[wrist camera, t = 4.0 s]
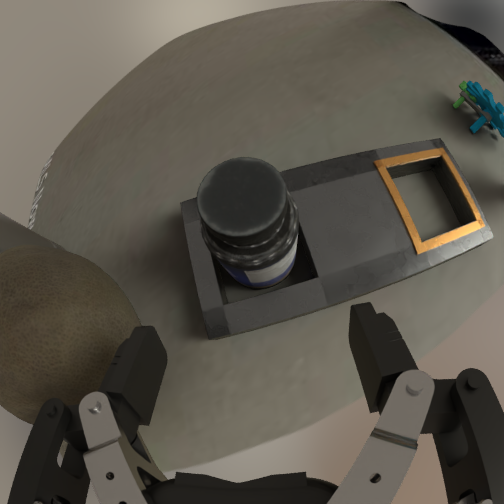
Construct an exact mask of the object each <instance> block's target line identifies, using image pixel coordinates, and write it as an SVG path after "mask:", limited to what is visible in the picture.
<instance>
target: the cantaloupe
mask: <svg viewBox="0 0 504 504" xmlns="http://www.w3.org/2000/svg"><path fill="white" fill-rule="evenodd" d="M137 326H141V323H140V321H139V318H138V316H137V314H136V312H135V310H134V308H133V306H132V305H131V303H130V301H129V300H128V298H127V297H126V295H125V294H124V292H123V291H122V290H121V288H120V287H119V286H118V285H117V284H116V282H115V281H114V280H113V279H112V278H111V277H110V276H109V275H108V274H107V273H105V272H104V271H103V270H102V269H101V268H99V267H98V266H97V265H95V264H94V263H92V262H91V261H89V260H87V259H85V258H83V257H81V256H79V255H76V254H73V253H70V252H67V251H64V250H61V249H56V248H51V247H45V246H39V245H20V246H15V247H12V248H10V249H7V250H5V251H3V252H2V253H0V405H1V406H2V407H3V408H5V409H6V410H7V411H9V412H10V413H12V414H13V415H15V416H16V417H18V418H19V419H21V420H23V421H25V422H27V423H30V424H33V425H34V423H35V420H36V418H37V416H38V413H39V411H40V409H41V407H42V405H43V404H44V403H45V402H46V401H47V400H49V399H51V398H59V399H60V400H61V401H62V402H63V403H64V404H65V405H66V406H67V405H75V404H80V402H81V401H82V399H83V398H84V397H85V396H86V395H88V394H90V393H92V392H97V391H98V390H99V387H100V385H101V383H102V381H103V378H104V376H105V374H106V372H107V370H108V368H109V365H111V361H112V359H113V357H114V355H115V353H116V351H117V349H118V347H119V346H120V345H121V344H122V342H123V341H124V340H125V339H126V338H130V336H131V333H132V331H133V329H134V328H135V327H137Z"/></svg>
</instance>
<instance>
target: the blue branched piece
mask: <svg viewBox="0 0 504 504" xmlns="http://www.w3.org/2000/svg"><path fill="white" fill-rule="evenodd" d="M459 87H460V89H461V90H462V92H461V93H460V96H461V97H460V98H459V99H458V100H457V101H456V102H455V103H454V104H453V107H454V108H455V109H457V108H458V107H459V106H460V105H461V104H462V103H463V102H464V101H466V102H467V103H468V104H469V105H470V106H471V107H472V108H473V109H474V110H475V111H476V112H477V113H478V114H479V115H480V116H481V117H480V118H479V119H478V120H477V121H476V122H475V123H474V124H473V125H472V126H471V127H470V130H471V131H472V132H473V133H475V132H476V131H477V130H478V129H479V128H480V127H481V126H482V125H483V124H484V123H485V122H489V121H490V125H491V126H492V127H493V128H494V129H495V130H496V129H498V130H499V133H500V135H501V136H502V137H504V115H503V113H504V107H503V106H502V104H501V103H500V102H498V103H497V104H496V103H495V102H494V99H493V95H492V93H491V92H490V91H489V90H487V89H485V90H484V91H483V89H482V87H481V86H480V84H479V83H478V82H475V83H474V84H473V83H472V82H471V81H469V82H468V83H466V82H465V81H463V82H462V83H461V84H460V85H459ZM477 105H479V106H480V107H481V109H480V108H479V107H478V106H477Z"/></svg>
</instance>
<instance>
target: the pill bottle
mask: <svg viewBox="0 0 504 504" xmlns="http://www.w3.org/2000/svg"><path fill="white" fill-rule="evenodd" d="M197 208H198V212H199V215H200V217H201V219H200V225H201V233H202V237H203V239H204V242H205V244H206V246H207V248H208V249H209V251H210V252H211V253H212V254H213V255H214V256H215V257H216V259H217V260H218V261H219V262H220V263H221V265H222V266H223V267H224V268H225V269H226V270H227V271H228V273H229V274H230V275H231V276H232V277H233V278H234V279H235V280H236V281H238V282H239V283H241V284H243V285H245V286H247V287H249V288H253V289H265V288H269V287H272V286H275V285H277V284H279V283H280V282H282V281H283V280H284V279H285V278H286V277H287V276H288V275H289V273H290V271H291V269H292V268H293V266H294V263H295V257H296V248H297V238H298V230H299V213H298V209H297V205H296V203H295V201H294V199H293V197H292V195H291V194H290V193H289V192H288V190H287V189H286V185H285V182H284V179H283V177H282V175H281V174H280V173H279V172H278V171H277V170H276V169H275V168H274V167H273V166H272V165H270V164H269V163H267V162H265V161H263V160H260V159H256V158H250V157H239V158H235V159H230V160H227V161H224V162H223V163H221V164H219V165H217V166H215V167H214V168H213V169H212V170H211V171H210V172H209V173H208V174H207V175H206V176H205V177H204V179H203V181H202V182H201V184H200V186H199V189H198V192H197Z"/></svg>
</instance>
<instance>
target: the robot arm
mask: <svg viewBox="0 0 504 504" xmlns="http://www.w3.org/2000/svg"><path fill="white" fill-rule="evenodd" d="M20 245H39V246H45V247H51V248H56V249H61V250H64V249H63V248H62V247H61V246H59V245H58V244H56V243H54V242H52V241H50V240H48V239H46V238H44V237H43V236H41V235H39V234H37V233H35V232H34V231H32V230H30V229H28V228H26V227H25V226H23V225H21V224H19V223H18V222H16V221H14V220H12V219H11V218H9V217H7V216H5V215H4V214H2V213H0V253H2V252H3V251H5V250H7V249H10V248H12V247H15V246H20ZM64 251H65V250H64ZM349 344H350V348H351V351H352V354H353V357H354V360H355V364H356V367H357V370H358V373H359V376H360V380H361V383H362V386H363V390H364V393H365V397H366V400H367V404H368V407H369V411H370V413H372V412H377V411H379V414H380V418H379V420H378V422H377V424H376V426H375V428H374V430H373V431H372V433H371V435H370V436H369V438H368V440H367V442H366V444H365V445H364V447H363V449H362V451H361V452H360V454H359V456H358V458H357V459H356V461H355V463H354V464H353V466H352V468H351V469H350V471H349V472H348V474H347V475H346V477H345V478H344V480H343V482H342V483H341V484H340V486H337V485H335V484H332V483H330V482H328V481H324V480H321V479H316V478H307V477H306V472H299V473H290V474H278V475H270V476H267V477H263V478H259V479H255V480H250V481H246V482H241V483H235V482H230V481H227V480H222V479H219V478H215V477H212V476H208V475H203V474H191V473H181V472H176V476H175V479H170V480H168V479H167V478H166V477H165V475H164V474H163V473H162V472H161V471H160V470H159V468H158V467H157V466H156V464H155V462H154V460H153V458H152V457H151V455H150V453H149V451H148V449H147V447H146V445H145V443H144V441H143V439H142V437H141V435H140V433H139V431H138V426H139V425H147V426H149V424H150V421H151V417H152V413H153V410H154V406H155V403H156V399H157V396H158V392H159V389H160V385H161V382H162V379H163V375H164V372H165V369H166V366H167V353H166V350H165V348H164V346H163V344H162V342H161V340H160V338H159V336H158V334H157V332H156V330H155V328H154V327H153V326H137V327H135V328H134V329H133V331H132V333H131V336H130V338H126V339H125V340H124V341H123V342H122V344H121V345H120V346H119V347H118V349H117V351H116V353H115V355H114V357H113V359H112V361H111V365H109V368H108V370H107V372H106V374H105V376H104V378H103V381H102V383H101V385H100V387H99V390H98V391H97V392H92V393H90V394H88V395H86V396H85V397H84V398H83V399H82V401H81V402H80V404H75V405H67V406H66V405H65V404H64V403H63V402H62V401H61V400H60V399H59V398H51V399H49V400H47V401H46V402H45V403H44V404H43V405H42V407H41V409H40V411H39V413H38V416H37V418H36V420H35V423H34V425H33V428H32V430H31V432H30V435H29V437H28V440H27V443H26V445H25V448H24V451H23V453H22V456H21V459H20V462H19V465H18V468H17V472H16V474H15V478H14V481H13V485H12V488H11V492H10V496H9V499H8V503H7V504H85V503H86V498H87V493H88V489H89V484H90V480H91V482H92V485H93V487H94V490H95V493H96V495H97V498H98V500H99V503H100V504H390V503H391V502H392V500H393V498H394V496H395V495H396V493H397V491H398V489H399V487H400V485H401V483H402V481H403V479H404V477H405V475H406V473H407V471H408V469H409V467H410V465H411V462H412V460H413V458H414V455H415V453H416V450H417V446H418V444H417V440H418V437H419V435H420V434H427V433H432V434H433V438H434V442H435V445H436V449H437V453H438V457H439V461H440V465H441V469H442V474H443V478H444V483H445V488H446V493H447V498H448V504H504V412H503V410H502V408H501V405H500V403H499V401H498V399H497V396H496V394H495V392H494V390H493V388H492V386H491V384H490V382H489V380H488V378H487V376H486V375H485V374H484V373H483V372H482V371H480V370H478V369H474V368H469V369H465V370H463V371H462V372H461V373H460V374H459V375H458V377H457V378H456V379H442V380H437V379H432V378H431V377H430V376H429V375H428V374H427V373H425V372H423V371H420V370H419V369H418V368H417V366H416V363H415V361H414V359H413V357H412V355H411V353H410V351H409V349H408V347H407V345H406V343H405V341H404V339H402V336H401V334H400V332H399V331H398V328H397V326H396V324H395V322H394V321H393V319H391V318H390V317H389V316H388V315H386V314H385V313H384V312H383V313H378V314H376V312H375V310H374V308H373V306H372V304H371V303H370V302H367V303H361V304H356V305H352V306H351V310H350V323H349ZM63 440H64V441H66V442H67V443H68V445H67V449H66V452H65V455H64V458H63V461H62V465H61V468H60V467H59V465H58V463H57V456H58V453H59V450H60V447H61V444H62V441H63Z"/></svg>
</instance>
